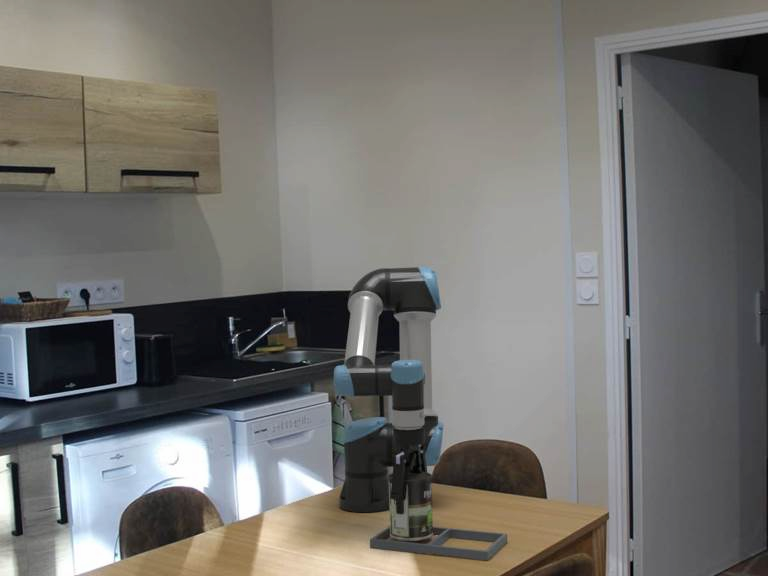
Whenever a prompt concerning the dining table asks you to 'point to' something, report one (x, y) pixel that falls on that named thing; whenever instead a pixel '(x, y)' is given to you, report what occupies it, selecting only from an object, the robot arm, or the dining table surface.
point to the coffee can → (414, 508)
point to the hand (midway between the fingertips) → (411, 521)
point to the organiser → (435, 541)
